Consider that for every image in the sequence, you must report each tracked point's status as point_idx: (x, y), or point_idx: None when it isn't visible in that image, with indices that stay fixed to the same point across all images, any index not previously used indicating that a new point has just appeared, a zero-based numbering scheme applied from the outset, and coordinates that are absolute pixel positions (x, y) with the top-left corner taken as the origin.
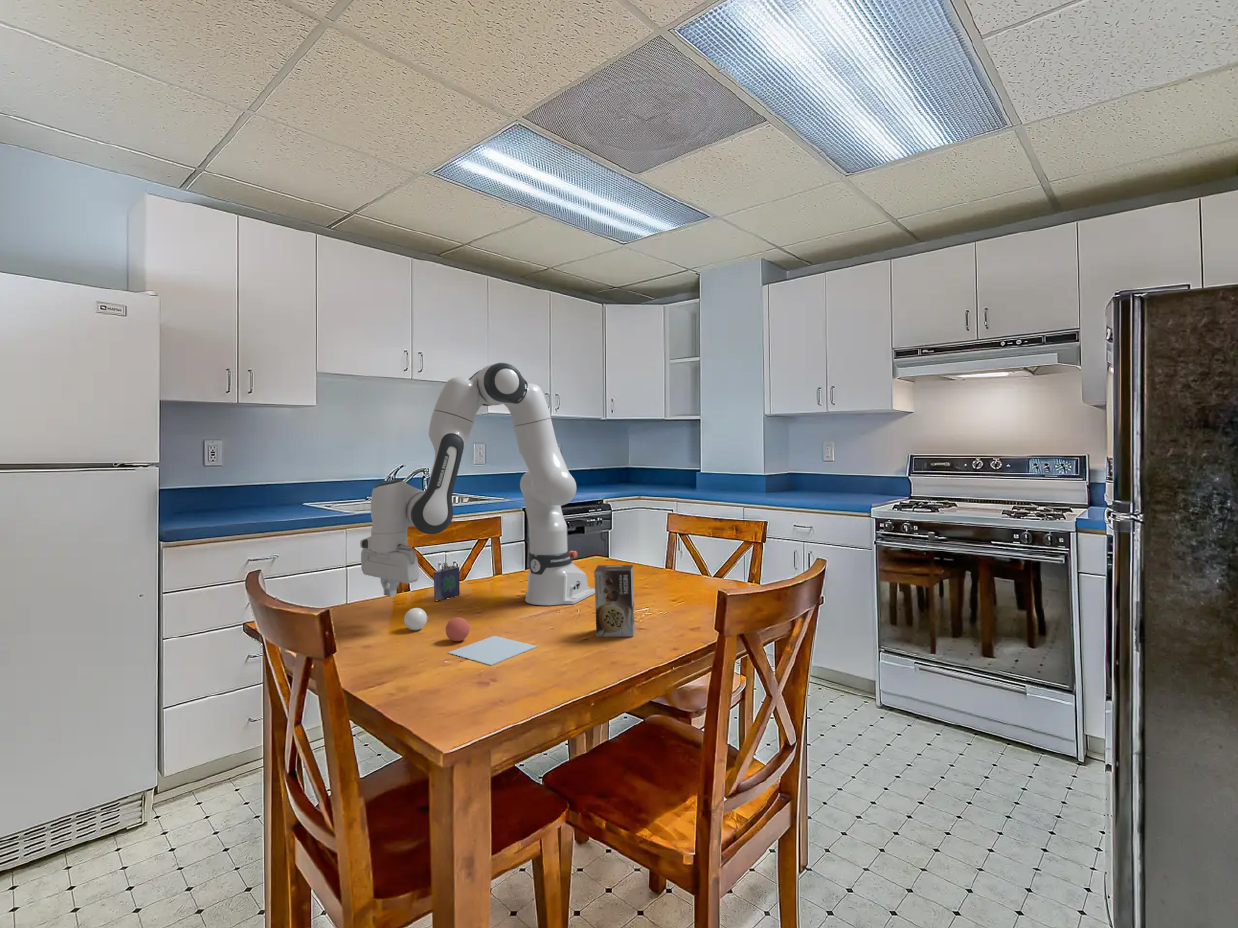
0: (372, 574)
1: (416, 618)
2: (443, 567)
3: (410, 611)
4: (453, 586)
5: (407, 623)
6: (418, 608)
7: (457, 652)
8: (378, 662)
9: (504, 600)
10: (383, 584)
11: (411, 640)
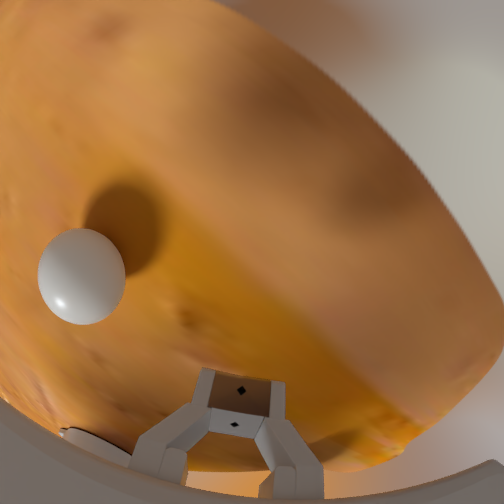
0: (417, 499)
1: (42, 253)
2: None
3: (52, 272)
4: None
5: (75, 229)
6: (51, 306)
7: None
8: (15, 12)
9: None
10: (284, 449)
11: (35, 161)
